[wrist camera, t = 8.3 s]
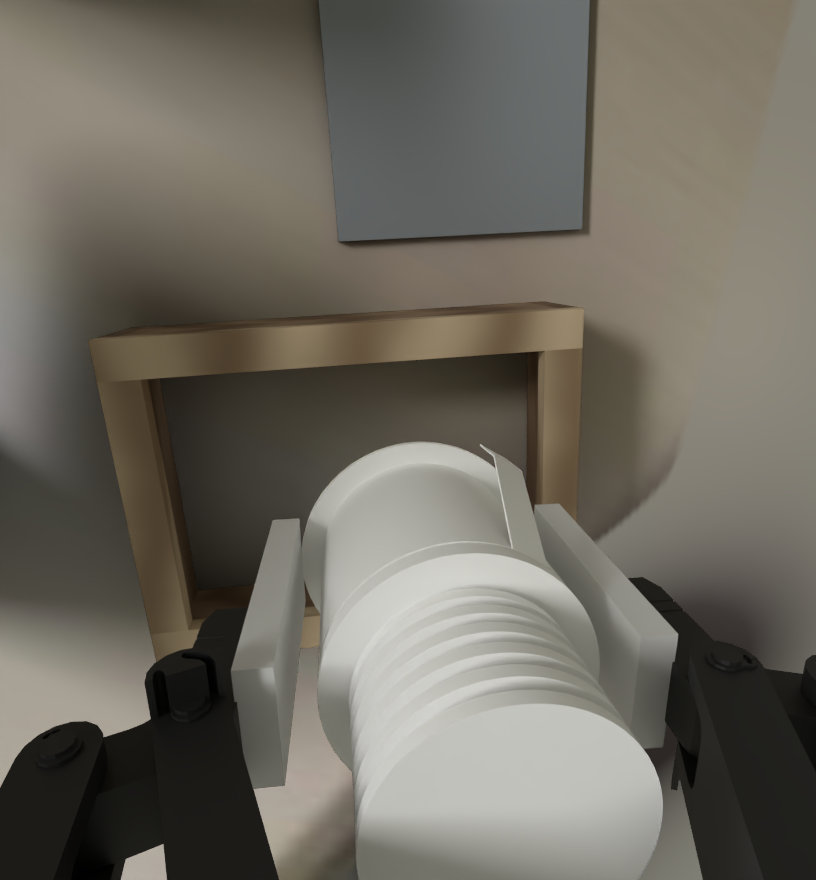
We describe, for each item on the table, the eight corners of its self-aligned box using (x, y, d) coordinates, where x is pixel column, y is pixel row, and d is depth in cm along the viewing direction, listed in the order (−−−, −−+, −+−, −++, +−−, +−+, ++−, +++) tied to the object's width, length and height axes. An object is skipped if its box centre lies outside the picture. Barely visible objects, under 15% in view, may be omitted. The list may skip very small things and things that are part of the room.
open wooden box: (184, 605, 38) (157, 665, 32) (131, 327, 33) (87, 340, 27) (539, 567, 40) (573, 616, 34) (543, 301, 35) (584, 308, 29)
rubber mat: (338, 241, 33) (338, 241, 32) (317, -10, 29) (317, -16, 29) (578, 229, 34) (582, 229, 33) (585, -13, 30) (590, -18, 30)
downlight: (445, 690, 19) (557, 1078, 10) (253, 607, 18) (164, 975, 8) (574, 490, 18) (845, 710, 9) (382, 382, 17) (454, 505, 7)
